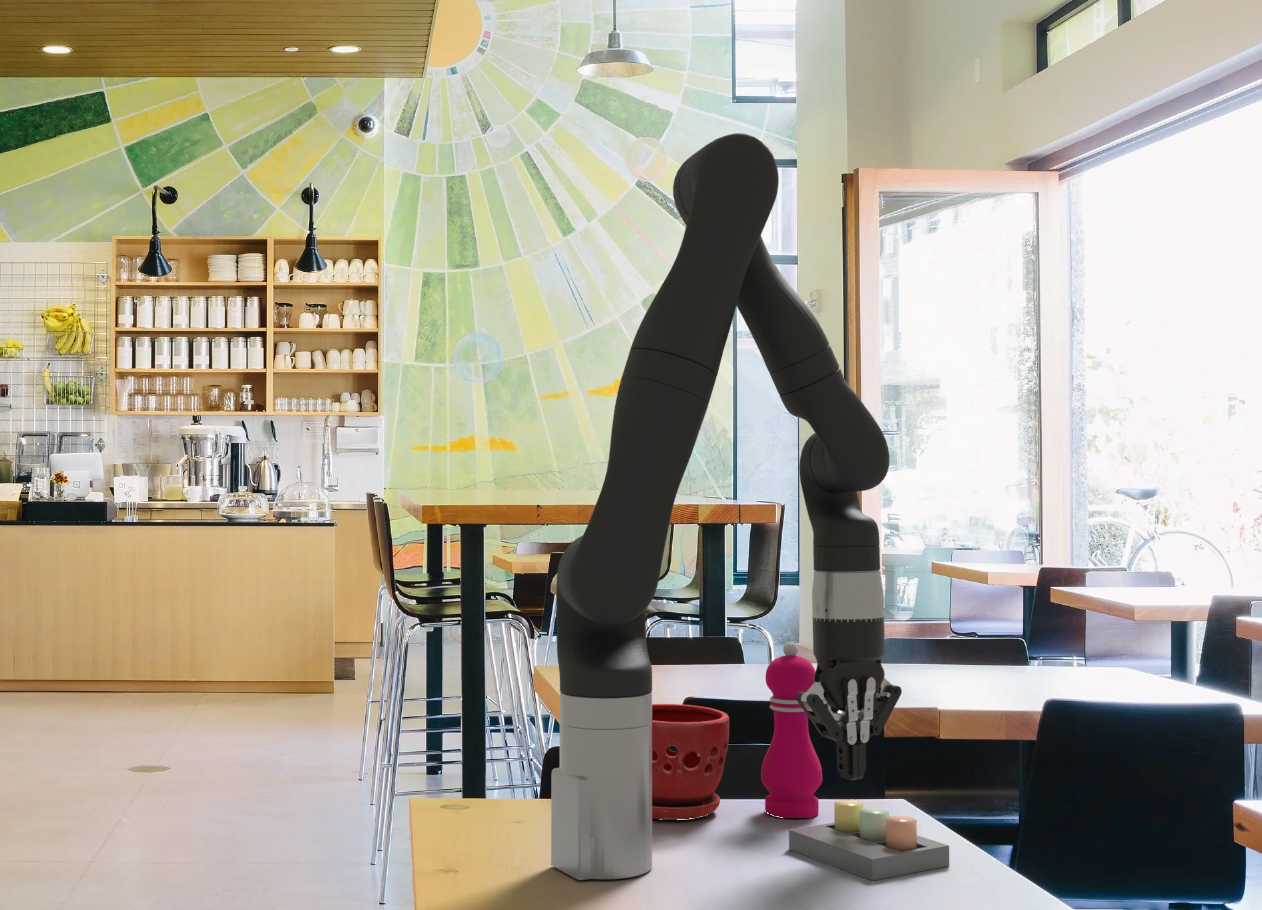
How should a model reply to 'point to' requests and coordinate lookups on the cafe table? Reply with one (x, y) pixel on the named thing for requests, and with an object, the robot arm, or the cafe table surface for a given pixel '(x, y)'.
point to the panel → (866, 852)
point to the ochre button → (847, 816)
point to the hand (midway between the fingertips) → (852, 777)
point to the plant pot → (687, 760)
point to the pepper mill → (790, 741)
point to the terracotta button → (901, 833)
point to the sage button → (873, 824)
